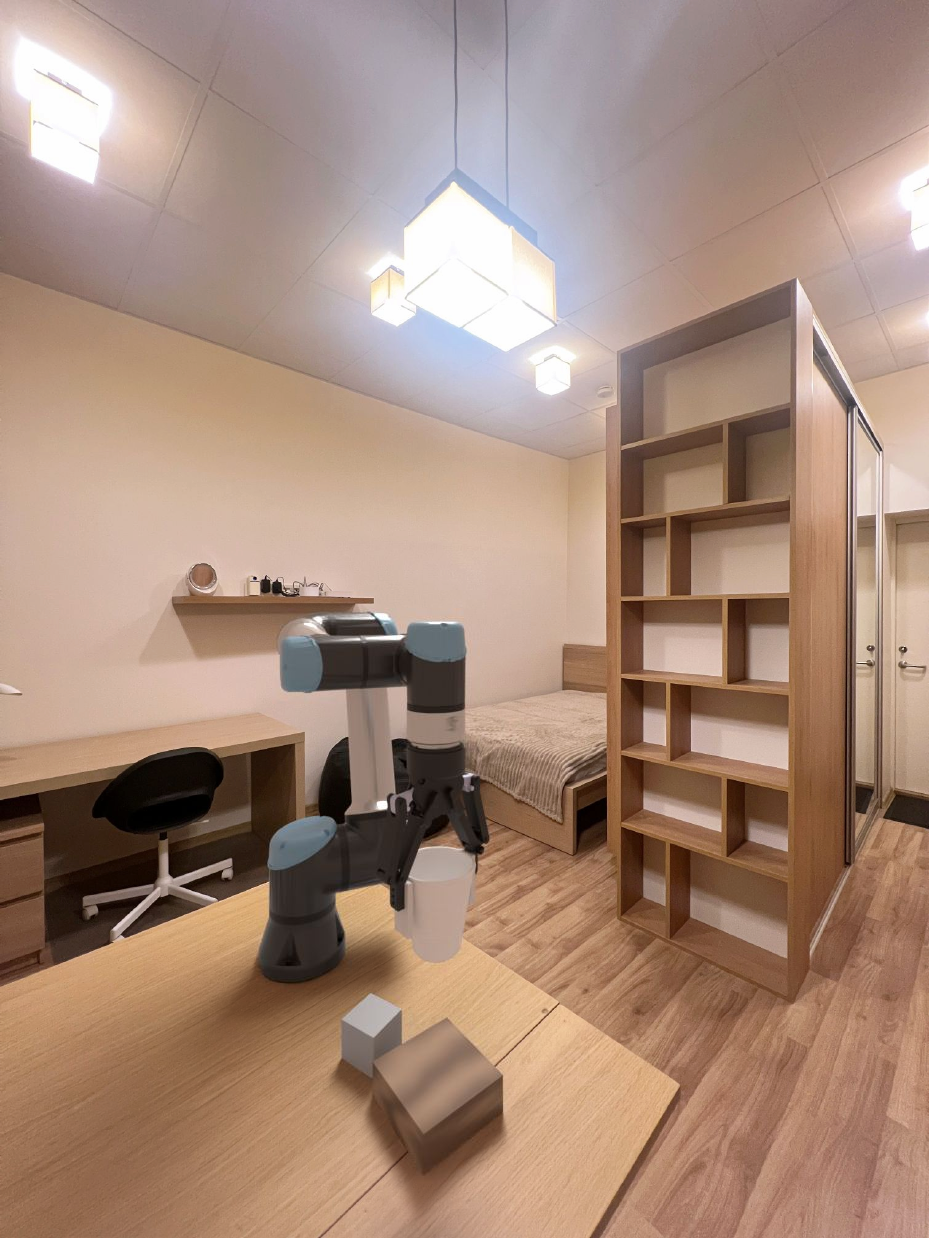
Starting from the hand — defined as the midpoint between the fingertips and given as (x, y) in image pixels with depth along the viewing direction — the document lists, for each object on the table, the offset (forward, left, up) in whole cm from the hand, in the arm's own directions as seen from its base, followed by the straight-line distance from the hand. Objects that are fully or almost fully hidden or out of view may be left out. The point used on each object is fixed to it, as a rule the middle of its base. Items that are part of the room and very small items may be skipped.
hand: (436, 915), depth 66 cm
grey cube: (-12, -2, -24) cm, 27 cm away
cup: (0, 0, -4) cm, 4 cm away
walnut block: (0, 0, -25) cm, 25 cm away
